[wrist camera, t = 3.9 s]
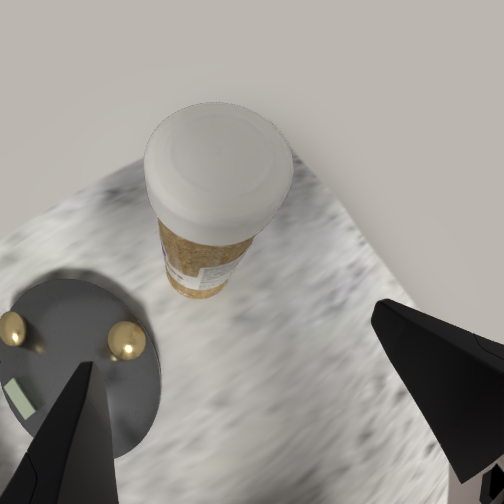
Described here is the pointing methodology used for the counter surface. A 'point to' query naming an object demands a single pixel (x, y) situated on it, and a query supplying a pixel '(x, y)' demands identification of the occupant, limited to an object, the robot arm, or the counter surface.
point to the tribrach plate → (79, 356)
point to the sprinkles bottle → (213, 190)
